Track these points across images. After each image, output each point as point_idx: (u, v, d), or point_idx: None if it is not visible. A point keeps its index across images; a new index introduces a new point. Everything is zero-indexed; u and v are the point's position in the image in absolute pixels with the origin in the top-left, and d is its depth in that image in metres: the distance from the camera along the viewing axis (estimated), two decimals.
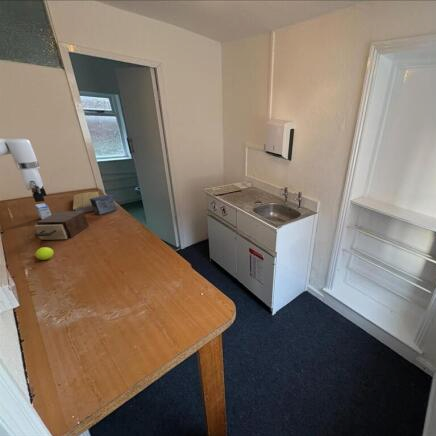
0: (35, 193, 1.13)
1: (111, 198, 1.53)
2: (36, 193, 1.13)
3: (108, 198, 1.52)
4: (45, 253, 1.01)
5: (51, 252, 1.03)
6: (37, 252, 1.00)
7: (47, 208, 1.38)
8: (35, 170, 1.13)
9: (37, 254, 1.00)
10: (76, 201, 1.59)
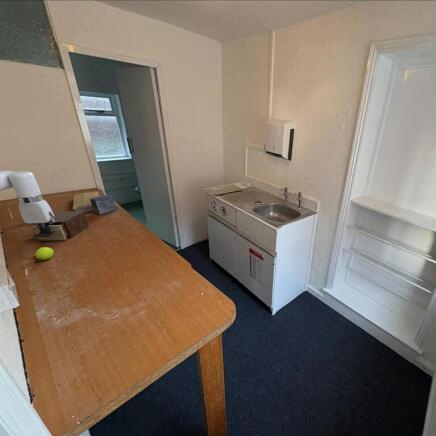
0: (47, 225, 1.12)
1: (111, 198, 1.53)
2: (48, 225, 1.13)
3: (108, 198, 1.52)
4: (45, 253, 1.01)
5: (51, 252, 1.03)
6: (37, 252, 1.00)
7: None
8: None
9: (37, 254, 1.00)
10: (76, 201, 1.59)
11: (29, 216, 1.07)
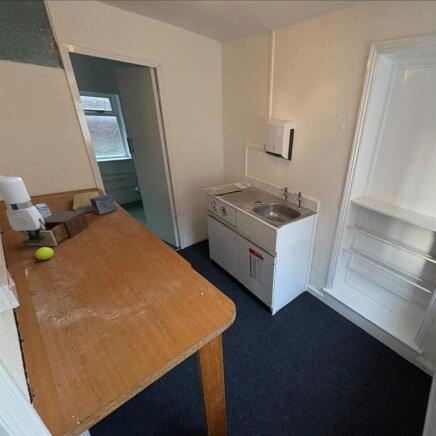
0: (37, 233, 1.07)
1: (111, 198, 1.53)
2: (38, 232, 1.07)
3: (108, 198, 1.52)
4: (45, 253, 1.01)
5: (51, 252, 1.03)
6: (37, 252, 1.00)
7: (47, 208, 1.38)
8: None
9: (37, 254, 1.00)
10: (76, 201, 1.59)
11: (18, 223, 1.02)
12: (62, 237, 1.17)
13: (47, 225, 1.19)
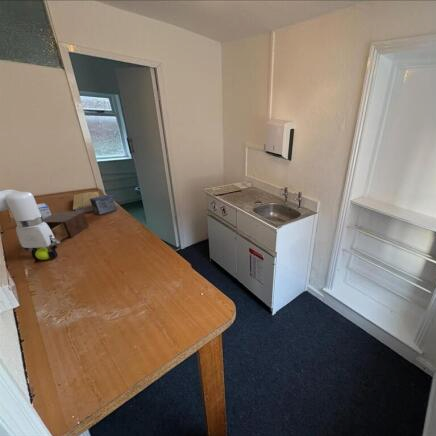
0: (54, 249, 1.03)
1: (111, 198, 1.53)
2: (55, 248, 1.03)
3: (108, 198, 1.52)
4: (45, 253, 1.01)
5: None
6: (37, 252, 1.00)
7: (47, 208, 1.38)
8: None
9: (37, 254, 1.00)
10: (76, 201, 1.59)
11: (27, 240, 0.97)
12: (62, 237, 1.17)
13: None
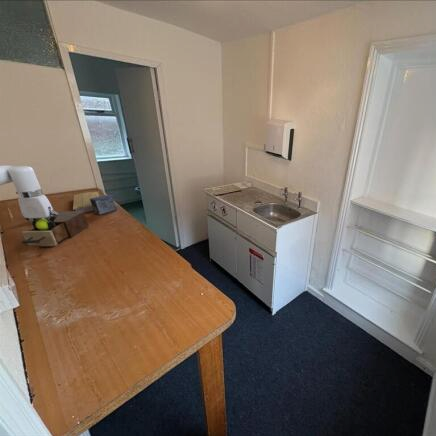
0: (53, 220, 1.12)
1: (111, 198, 1.53)
2: (53, 220, 1.13)
3: (108, 198, 1.52)
4: (44, 224, 1.11)
5: None
6: (37, 222, 1.10)
7: None
8: None
9: (37, 224, 1.10)
10: (76, 201, 1.59)
11: (28, 211, 1.07)
12: (62, 237, 1.17)
13: None
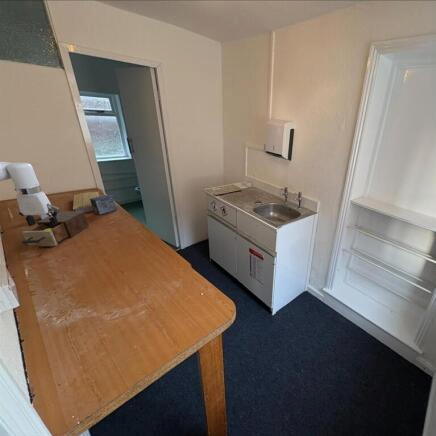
0: (54, 215, 1.12)
1: (111, 198, 1.53)
2: (55, 215, 1.12)
3: (108, 198, 1.52)
4: None
5: None
6: None
7: None
8: None
9: None
10: (76, 201, 1.59)
11: (27, 208, 1.06)
12: (62, 237, 1.17)
13: (47, 225, 1.19)
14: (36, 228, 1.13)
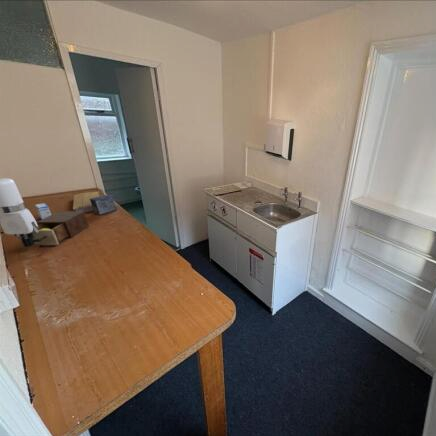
0: (30, 236, 1.04)
1: (111, 198, 1.53)
2: (31, 236, 1.04)
3: (108, 198, 1.52)
4: None
5: None
6: None
7: (47, 208, 1.38)
8: None
9: None
10: (76, 201, 1.59)
11: (10, 227, 0.98)
12: (63, 236, 1.18)
13: (48, 224, 1.20)
14: (38, 227, 1.14)
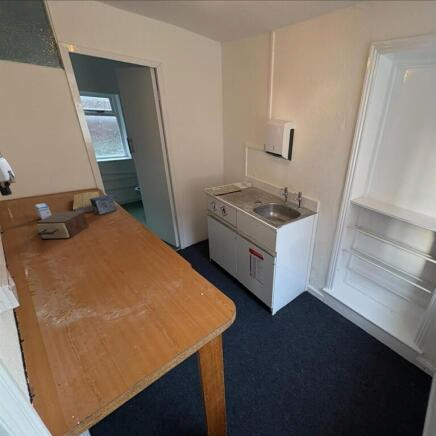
0: (7, 185, 1.10)
1: (111, 198, 1.53)
2: (8, 185, 1.10)
3: (108, 198, 1.52)
4: None
5: None
6: None
7: (47, 208, 1.38)
8: None
9: None
10: (76, 201, 1.59)
11: None
12: None
13: None
14: None
